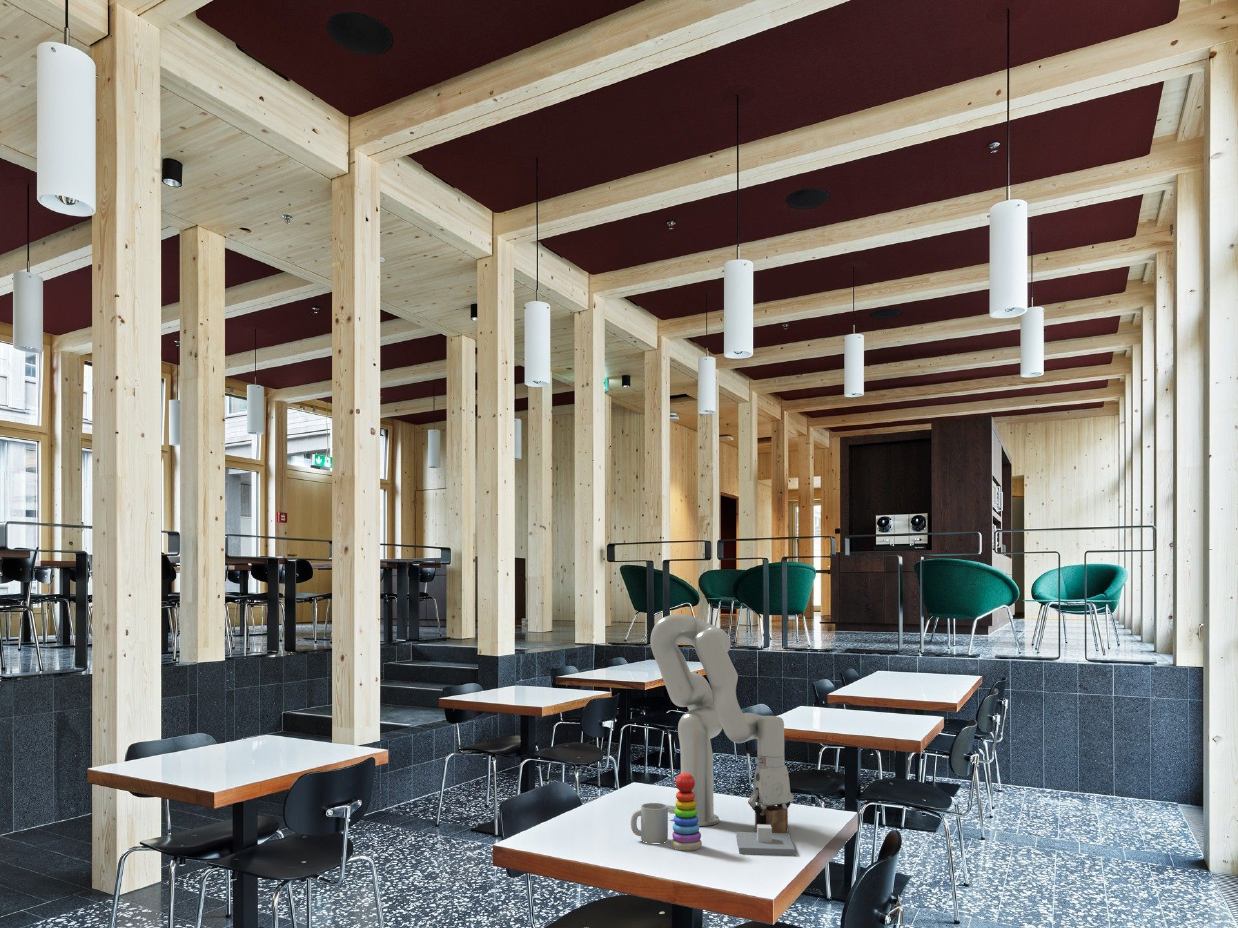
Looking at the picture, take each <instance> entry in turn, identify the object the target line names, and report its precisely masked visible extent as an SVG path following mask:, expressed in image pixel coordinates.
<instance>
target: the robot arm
mask: <svg viewBox="0 0 1238 928" xmlns="http://www.w3.org/2000/svg"><path fill="white" fill-rule="evenodd" d="M731 642H732V641H731V639H730V636H729V635H728V633H727V632H726V631H724V630H723V629H721V628H720V627H717V626H715V625H713V624H710V623H708V622H706V621H704V620H702V619H699V618H697V617H695V616H693V615H691V614H690V615H689V614H671V615H667V616H664V617H662V618H660V619H659V620H658V621H657V622H656V623H655V625H654V626H653V628H652V630H651V634H650V648H651V652H652V655H653V657H654V659H655V661H656V662H655V663H656V665H657V666H658V670H659V672H660V675H661V677H662V680H663V682H664V685H665V688H666V690H667V693H668V696H669V698H670V700H671V702H672V703H673V704H674V705H675V706H677V707H680V708H686V707H687V710H688V711H686V712H685V713H684V714H682V716H681V717H680V719H679V721H678V726H677V732H678V733H677V734H678V739H679V749H680V750H679V751H680V774H681V773H689V774H691V775H692V776H693V778H694V780H695V786H694V788H693V790H692V792H693V793H694V794H695V798H694V800H695V801H696V804H697V805H696V807H695V808H696V809H697V815H696V816H697V817H698V823H697V824H698V825H699V827H704V826H705V827H708V826H713V825H717V824H718V823H719V822H720V818H719V816H718V815H717V814H715V812H714V810H715V809H714V808H715V807H714V755H713V749H712V744H711V743H712V742H711V739H713V738H715V737H717V736H718V735H719V734H721V732H722V731H723V732H724V734H725V736H726V737H727V739H729V741H731V742H733V743H736V744H742V743H746V742H748V741H751V740H757V758H755V759H754V762H755V764H756V765H757V766H756V767H755V771H754V778H753V794H752V795H751V796H750V798H749V799H748V801H747V804H748V805H749V806H750V807H751V809H752V810H753V811H754V814H755V813H756V814H757V824H761V825H766V816H765V815H764V813H765V810H766V807H767V806H772V805H776V806H779V807H782V808H785V809H789V807H791V803H792V802H793V800H794V799H795V796H794V795H793V794H792V793H791V787H790V786H791V785H790V777H789V772H788V767H787V765H785V721H784V719H783V718H782V717H780V716H777V715H762V714H757V713H753V712H742V709H741V706H740V704H739V701H738V698H737V691H736V690H737V684H738V679H739V675H738V672H737V670H736V668H735V666H734V664H733V662H732V660H731V658H730V655H729V651H730V649H731V646H732V645H731ZM681 643H686V644H689V645H690V646H693V647H694V650H695V653H696V655H697V657H698V659H699V661H700V664H701V666H702V668H703V671H704V672H705V675H706V677H707V679H708V680H707V679H706V678H705V676H703V675H701V674H700V673H697V672H691V670H690V668H689V666H688V662H687V660H686V658H685V656H684V654H683V653H682V650H681V649H680V648H679V644H681ZM708 681H709V682H708ZM666 805H667V806H668V813H669V814H674V815H675V813H674V811H675V808H677V807H676V805H668V804H666ZM761 806H762V808H761ZM760 808H761V809H760Z"/></svg>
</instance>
